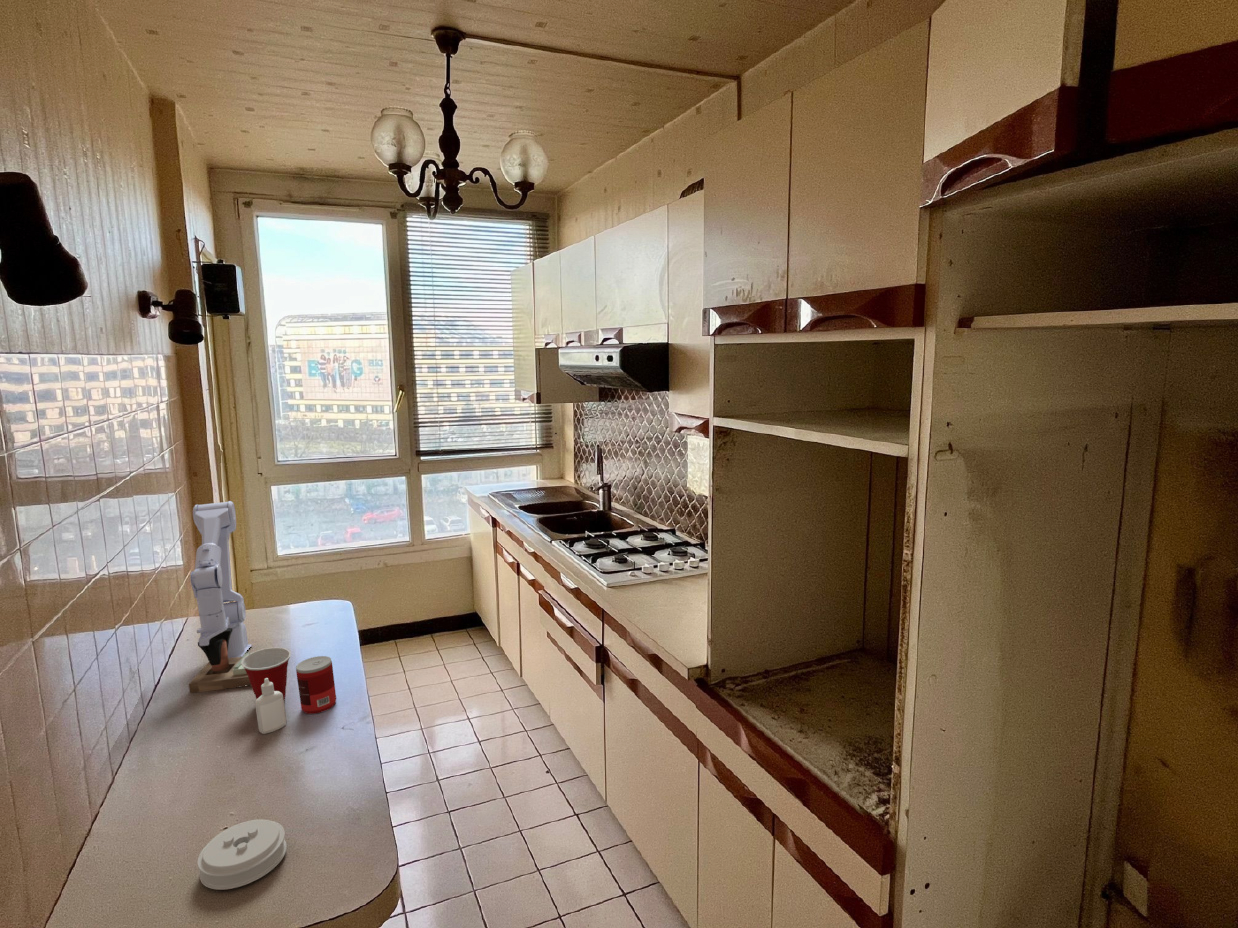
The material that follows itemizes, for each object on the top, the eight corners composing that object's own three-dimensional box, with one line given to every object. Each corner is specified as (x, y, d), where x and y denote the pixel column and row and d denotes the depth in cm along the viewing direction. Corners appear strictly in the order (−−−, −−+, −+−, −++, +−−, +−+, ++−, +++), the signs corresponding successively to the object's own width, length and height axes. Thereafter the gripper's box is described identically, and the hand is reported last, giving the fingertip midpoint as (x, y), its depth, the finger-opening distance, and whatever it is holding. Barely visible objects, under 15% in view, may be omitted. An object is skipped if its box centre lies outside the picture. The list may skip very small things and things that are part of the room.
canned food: (342, 697, 169) (337, 655, 167) (325, 714, 161) (320, 670, 159) (313, 697, 170) (307, 655, 168) (294, 714, 162) (288, 670, 160)
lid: (300, 835, 120) (296, 809, 119) (265, 892, 108) (261, 863, 107) (226, 840, 120) (222, 814, 119) (183, 897, 107) (178, 869, 107)
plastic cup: (260, 718, 161) (253, 670, 159) (239, 705, 167) (232, 659, 165) (305, 698, 169) (299, 652, 167) (283, 687, 176) (277, 643, 174)
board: (212, 668, 189) (210, 660, 188) (282, 660, 192) (280, 652, 191) (189, 692, 175) (188, 683, 175) (265, 684, 178) (264, 674, 178)
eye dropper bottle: (285, 729, 155) (278, 680, 153) (258, 735, 153) (250, 685, 151) (287, 720, 159) (281, 671, 157) (260, 726, 157) (253, 677, 155)
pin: (223, 663, 185) (220, 638, 184) (232, 665, 183) (229, 641, 182) (208, 669, 182) (205, 644, 180) (217, 672, 180) (214, 646, 179)
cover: (247, 658, 188) (246, 652, 188) (282, 654, 190) (281, 648, 189) (233, 675, 178) (232, 668, 178) (270, 670, 180) (269, 664, 179)
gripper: (206, 603, 186) (213, 651, 188) (182, 623, 172) (190, 674, 174) (234, 600, 187) (241, 647, 190) (213, 620, 173) (220, 671, 175)
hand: (219, 660), depth 182 cm, fingers closed on pin, 4 cm apart
